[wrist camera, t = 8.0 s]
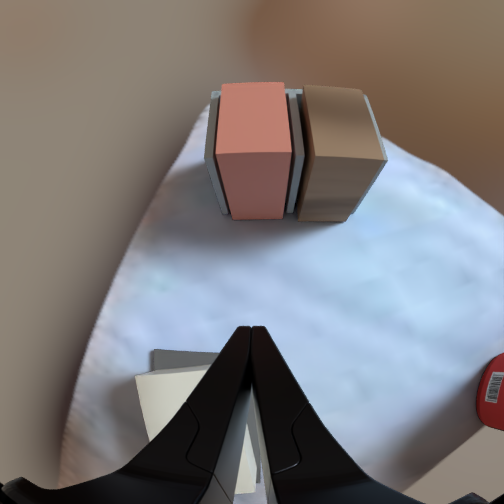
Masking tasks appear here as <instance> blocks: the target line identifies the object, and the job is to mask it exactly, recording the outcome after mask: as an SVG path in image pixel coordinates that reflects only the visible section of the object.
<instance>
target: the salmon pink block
mask: <svg viewBox="0 0 504 504" xmlns="http://www.w3.org/2000/svg"><path fill="white" fill-rule="evenodd" d="M291 154H292V150H291V140H290V130H289V121H288V112H287V104H286V96H285V88H284V83H283V82H254V83H252V82H251V83H231V84H222V90H221V99H220V109H219V120H218V131H217V143H216V157H217V161H218V165H219V169H220V173H221V177H222V181H223V185H224V188H225V192H226V196H227V200H228V204H229V207H230V211H231V215H232V219H233V220H250V219H283V212H284V205H285V198H286V191H287V184H288V176H289V169H290V161H291Z"/></svg>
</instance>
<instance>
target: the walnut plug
mask: <svg viewBox="0 0 504 504" xmlns="http://www.w3.org/2000/svg"><path fill="white" fill-rule="evenodd" d="M299 117H300V124H301V131H302V138H303V146H304V154H305V157H304V162H303V167H302V172H301V177H300V181H299V186H298V191H297V196H296V200H297V213H298V222H303V221H340V222H346V220H347V219H348V217H349V215H350V214H351V212H352V211H353V209H354V208H355V206H356V205H357V203H358V202H359V200H360V198H361V197H362V195H363V194H364V192H365V191H366V189H367V187H368V186H369V184H370V183H371V181H372V179H373V178H374V176H375V175H376V173H377V171H378V170H379V168H380V166H381V165H382V163H383V161H384V157H383V153H382V150H381V147H380V143H379V140H378V137H377V133H376V130H375V127H374V124H373V121H372V118H371V115H370V112H369V109H368V107H367V104H366V101H365V98H364V96H363V93H362V91H361V90H358V89H350V88H340V87H330V86H329V87H328V86H316V85H303V91H302V99H301V107H300V114H299Z"/></svg>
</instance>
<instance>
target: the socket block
mask: <svg viewBox="0 0 504 504" xmlns="http://www.w3.org/2000/svg"><path fill="white" fill-rule="evenodd" d="M302 91H303V89H285V96H286V104H287V112H288V121H289V130H290V140H291V150H292V154H291V161H290V169H289V176H288V184H287V191H286V210H287V213H293V210H294V205H295V200H296V196H297V191H298V186H299V181H300V177H301V172H302V167H303V162H304V157H305V154H304V146H303V138H302V131H301V124H300V117H299V114H300V107H301V99H302ZM363 96H364V98H365V101H366V104H367V107H368V109H369V112H370V115H371V118H372V121H373V124H374V127H375V130H376V133H377V137H378V140H379V143H380V147H381V150H382V153H383V157H384V161H383V163H382V165H381V166H380V168H379V170H378V171H377V173H376V175H375V176H374V178H373V179H372V181H371V183H370V184H369V186H368V187H367V189H366V191H365V192H364V194H363V195H362V197H361V198H360V200H359V202H358V203H357V205H356V206H355V208H354V209H353V211H352V212H351V213H354V212H355V211H356V209H357V208H358V206H359V205H360V203H361V202H362V200H363V199H364V197H365V196H366V194H367V193H368V191H369V189H370V188H371V186H372V185H373V183H374V182H375V180H376V179H377V177H378V175H379V174H380V172H381V171H382V169H383V168H384V166H385V164H386V163H387V161H388V159H387V155H386V152H385V148H384V145H383V142H382V139H381V135H380V133H379V129H378V126H377V123H376V120H375V118H374V115H373V112H372V109H371V106H370V104H369V101H368V98H367V96H366V95H363ZM220 99H221V91H213V92H212V96H211V103H210V110H209V118H208V127H207V135H206V144H205V153H204V160H205V163H206V166H207V169H208V172H209V175H210V178H211V181H212V184H213V187H214V190H215V193H216V196H217V199H218V202H219V205H220V208H221V211H222V214H229V204H228V200H227V196H226V192H225V188H224V185H223V181H222V177H221V173H220V169H219V165H218V161H217V157H216V143H217V131H218V120H219V109H220Z"/></svg>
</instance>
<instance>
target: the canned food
mask: <svg viewBox="0 0 504 504" xmlns="http://www.w3.org/2000/svg"><path fill="white" fill-rule="evenodd" d="M476 409H477V414H478V416H479V419H480V420H481V421H482V422H483V423H484V424H485V425H486V426H488V427H491V428H494V429H498V430H502V431H504V353H502V354H500V355H498V356H497V357H495V358H494V359H493V360H492V361H491V362H490V364H489V365H488V366H487V368H486V370H485V372H484V374H483V376H482V379H481V381H480V384H479V388H478V393H477V400H476Z"/></svg>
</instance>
